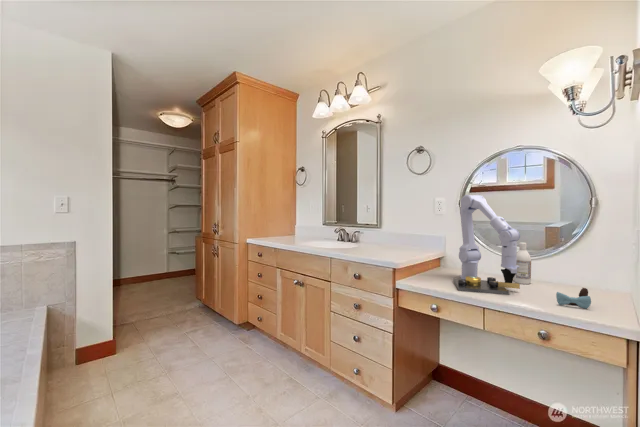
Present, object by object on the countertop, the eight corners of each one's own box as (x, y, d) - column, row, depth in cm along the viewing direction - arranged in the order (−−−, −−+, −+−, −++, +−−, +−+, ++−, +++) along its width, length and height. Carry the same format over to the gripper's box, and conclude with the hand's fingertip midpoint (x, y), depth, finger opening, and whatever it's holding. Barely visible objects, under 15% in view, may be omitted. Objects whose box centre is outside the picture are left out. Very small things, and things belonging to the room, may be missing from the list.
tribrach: (453, 281, 148) (453, 271, 148) (497, 284, 142) (498, 274, 142) (458, 290, 132) (458, 280, 131) (509, 294, 126) (509, 283, 125)
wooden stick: (489, 286, 132) (490, 282, 132) (488, 284, 135) (488, 280, 135) (520, 289, 127) (520, 284, 127) (518, 287, 131) (518, 282, 131)
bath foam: (533, 284, 141) (534, 243, 140) (517, 284, 142) (518, 243, 141) (526, 281, 148) (527, 242, 147) (511, 280, 149) (512, 241, 148)
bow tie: (556, 305, 113) (556, 292, 112) (555, 304, 114) (556, 291, 114) (591, 310, 107) (591, 297, 107) (590, 309, 108) (590, 296, 108)
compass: (564, 299, 119) (564, 282, 119) (589, 305, 112) (589, 287, 112) (554, 302, 116) (555, 284, 115) (579, 309, 109) (580, 290, 108)
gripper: (525, 259, 123) (524, 290, 123) (513, 253, 137) (513, 281, 137) (506, 258, 125) (505, 289, 125) (496, 252, 139) (496, 280, 139)
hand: (508, 285), depth 131 cm, fingers closed, pressing on wooden stick
